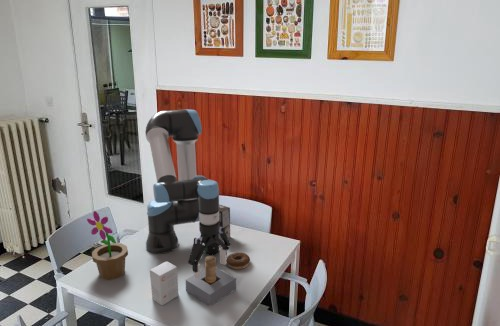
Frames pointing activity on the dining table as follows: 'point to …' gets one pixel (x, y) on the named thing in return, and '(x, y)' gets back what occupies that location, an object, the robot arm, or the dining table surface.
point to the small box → (164, 282)
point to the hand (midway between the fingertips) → (210, 270)
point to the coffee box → (224, 219)
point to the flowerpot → (108, 251)
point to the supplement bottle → (212, 249)
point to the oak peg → (210, 269)
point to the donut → (238, 260)
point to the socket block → (211, 287)
